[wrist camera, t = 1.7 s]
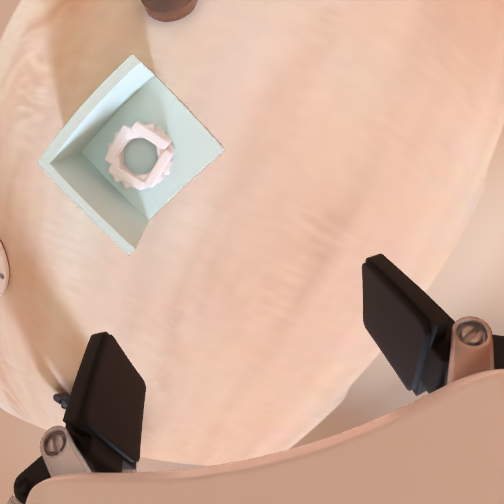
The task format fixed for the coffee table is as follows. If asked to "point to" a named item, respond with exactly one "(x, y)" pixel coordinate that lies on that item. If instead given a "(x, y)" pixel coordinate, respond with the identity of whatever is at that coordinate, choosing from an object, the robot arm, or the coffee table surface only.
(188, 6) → the brown cylinder
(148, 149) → the right angle wall
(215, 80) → the coffee table surface
